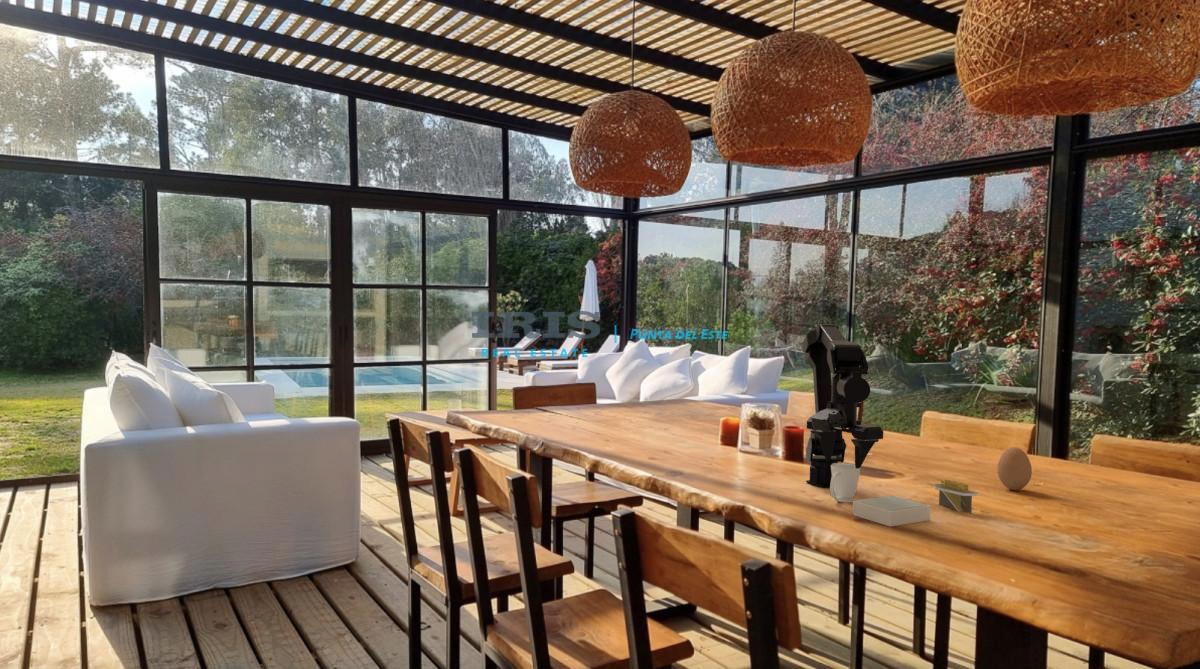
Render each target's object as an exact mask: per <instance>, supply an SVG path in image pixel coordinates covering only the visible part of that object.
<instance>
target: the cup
mask: <svg viewBox="0 0 1200 669" xmlns="http://www.w3.org/2000/svg"><path fill="white" fill-rule="evenodd" d="M861 468H862V466H861V467H860V468H859V469H856V468H855V463H844V462H838V463H835V464H832V465H831V472H832V478H831V483H830V487H829V492H830V495H831V497H832V498H833V499H834V501H836V502H838V503H853V501H855V496H856V493H857V489H858V485H859V478H860V474H861Z"/></svg>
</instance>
